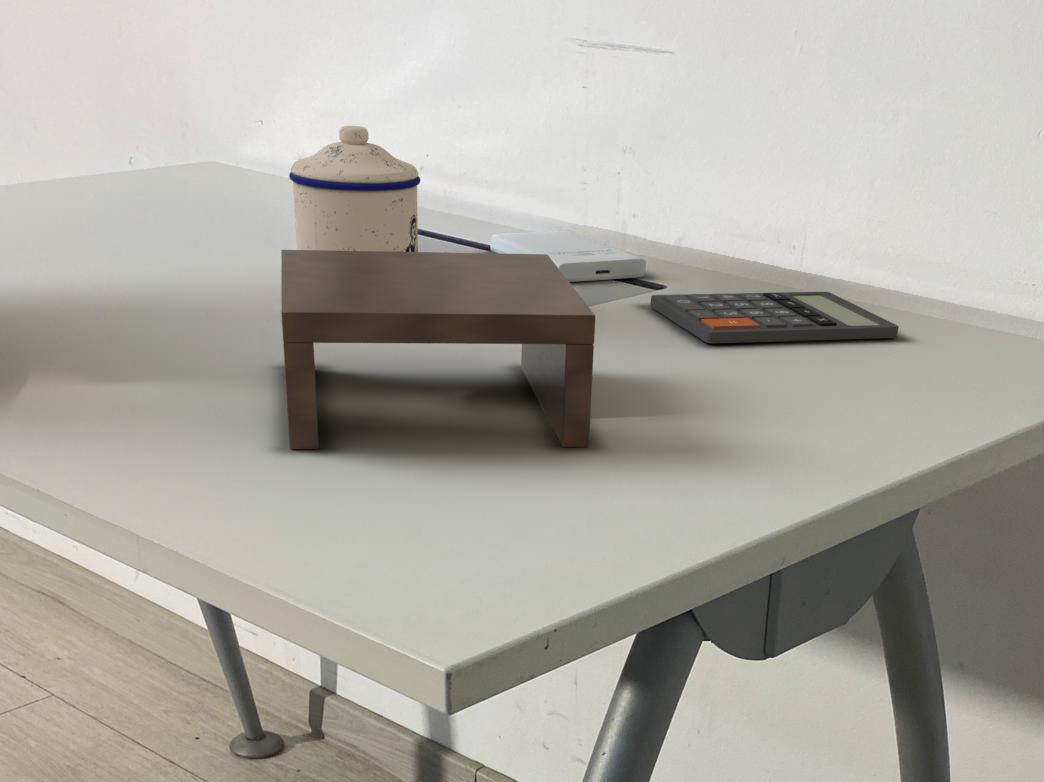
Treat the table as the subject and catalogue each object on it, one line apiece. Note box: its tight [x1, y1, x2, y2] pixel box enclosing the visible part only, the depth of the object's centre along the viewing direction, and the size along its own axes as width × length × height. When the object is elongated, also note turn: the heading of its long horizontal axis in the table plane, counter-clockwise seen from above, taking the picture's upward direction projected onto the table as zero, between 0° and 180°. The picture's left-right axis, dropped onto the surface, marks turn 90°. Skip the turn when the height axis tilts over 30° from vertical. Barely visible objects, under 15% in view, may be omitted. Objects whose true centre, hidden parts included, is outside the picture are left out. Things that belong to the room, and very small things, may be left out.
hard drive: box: [489, 230, 647, 283], centre depth 120 cm, size 2×8×12 cm
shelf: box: [280, 249, 596, 450], centre depth 81 cm, size 16×16×7 cm
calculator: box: [649, 291, 900, 344], centre depth 105 cm, size 12×1×15 cm
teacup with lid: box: [288, 125, 421, 252], centre depth 103 cm, size 12×9×12 cm
